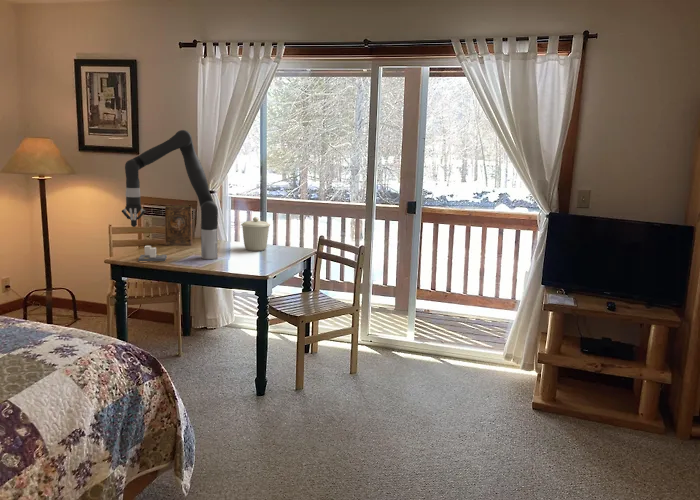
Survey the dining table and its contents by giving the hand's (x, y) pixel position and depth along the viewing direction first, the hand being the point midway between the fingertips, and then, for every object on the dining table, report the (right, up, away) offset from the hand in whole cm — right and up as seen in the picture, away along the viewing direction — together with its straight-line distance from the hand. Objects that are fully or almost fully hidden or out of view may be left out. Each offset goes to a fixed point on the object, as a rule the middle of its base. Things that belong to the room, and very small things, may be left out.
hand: (133, 226), depth 314 cm
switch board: (+10, -19, +3) cm, 21 cm away
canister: (+61, -13, +44) cm, 76 cm away
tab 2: (+11, -17, 0) cm, 20 cm away
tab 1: (+6, -16, +5) cm, 18 cm away
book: (+11, -10, +49) cm, 51 cm away
